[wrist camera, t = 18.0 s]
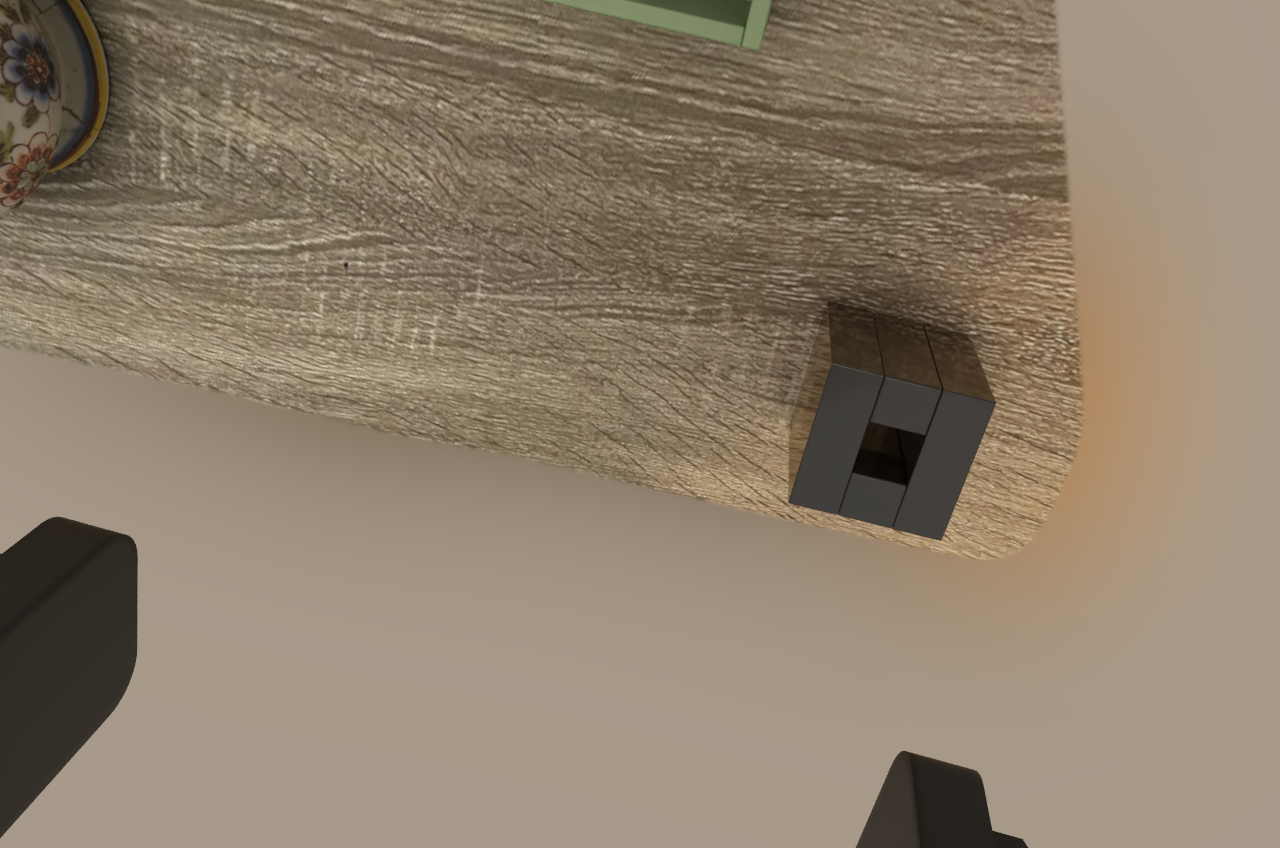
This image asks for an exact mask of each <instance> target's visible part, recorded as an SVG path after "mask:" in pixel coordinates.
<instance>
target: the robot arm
mask: <svg viewBox="0 0 1280 848" xmlns="http://www.w3.org/2000/svg"><path fill="white" fill-rule="evenodd" d="M137 558H138V557H137V548H136V544H135V542H134V540H133V539H132V538H131V537H129V536H128V535H125V534H121V533H117V532H113V531H110V530H106V529H103V528H99V527H95V526H92V525H88V524H85V523H81V522H77V521H74V520H70V519H66V518H63V517H53V518H51V519H48V520H46V521H44V522H43V523H41V524H40V525H39V526H38V527H36V528H35V529H33V530H32V531H31V532H30V533H29V534H27V535H26V536H25V537H23V538H22V539H21V540H19V541H18V542H17V543H15V544H14V545H13V546H12V547H10V548H9V549H8V550H6V551H5V552H4V553H3V554H0V838H1V837H2V836H3V834H4V833H5V832H6V831H7V830H8V829H9V828H10V827H11V826H12V824H13V823H14V822H15V821H16V820H17V819H18V818H19V817H20V815H21V814H22V813H23V812H24V811H25V810H26V809H27V808H28V806H29V805H30V804H31V803H32V802H33V801H34V800H35V799H36V797H37V796H38V795H39V794H40V793H41V792H42V791H43V790H44V789H45V787H46V786H47V785H48V784H49V783H50V782H51V781H52V780H53V778H54V777H55V776H56V775H57V774H58V773H59V772H60V771H61V769H62V768H63V767H64V766H65V765H66V764H67V763H68V762H69V761H70V759H71V758H72V757H73V756H74V755H75V754H76V753H77V751H78V750H79V749H80V748H81V747H82V746H83V745H84V744H85V743H86V741H87V740H88V739H89V738H90V737H91V736H92V735H93V734H94V732H95V731H96V730H97V729H98V728H99V727H100V726H101V725H102V723H103V722H104V721H105V720H106V719H107V718H108V717H109V716H110V714H111V713H112V712H113V711H114V709H115V708H116V707H117V705H118V704H119V702H120V700H121V699H122V697H123V695H124V693H125V691H126V689H127V687H128V685H129V682H130V679H131V677H132V674H133V671H134V667H135V663H136V657H137V566H138V559H137ZM856 848H1028V847H1027V845H1026V844H1025V842H1024V841H1023V839H1020V838H1017V837H1013V836H1009V835H1006V834H1002V833H998V832H995V831H992V827H991V822H990V817H989V812H988V806H987V801H986V796H985V791H984V786H983V782H982V779H981V777H980V774H979V773H978V772H977V771H975V770H972V769H968V768H965V767H961V766H958V765H954V764H950V763H946V762H943V761H939V760H936V759H932V758H929V757H924V756H921V755H917V754H914V753H910V752H906V751H902V752H900V753H899V754H898V755H897V757H896V758H895V760H894V762H893V764H892V766H891V768H890V770H889V773H888V775H887V777H886V779H885V782H884V784H883V786H882V789H881V791H880V793H879V796H878V798H877V800H876V803H875V805H874V807H873V809H872V812H871V814H870V816H869V818H868V821H867V823H866V825H865V828H864V830H863V832H862V835H861V837H860V839H859V842H858V844H857V846H856Z"/></svg>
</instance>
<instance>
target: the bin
mask: <svg viewBox="0 0 1280 848" xmlns="http://www.w3.org/2000/svg"><path fill="white" fill-rule="evenodd" d="M543 1H547V2H551V3H555V4H560V5H564V6H568V7H572V8H577V9H581V10H585V11H590V12H594V13H598V14H602V15H607V16H611V17H615V18H619V19H624V20H628V21H632V22H636V23H641V24H645V25H649V26H654V27H658V28H662V29H666V30H671V31H675V32H679V33H683V34H688V35H692V36H696V37H701V38H705V39H709V40H713V41H718V42H722V43H726V44H730V45H735V46H740V45H741V47H743V48H747V49H752V50H756V51H759V50H760V48H761V45H762V41H763V37H764V34H765V30H766V27H767V23H768V19H769V15H770V11H771V7H772V3H773V0H543Z"/></svg>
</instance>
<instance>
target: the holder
mask: <svg viewBox="0 0 1280 848" xmlns="http://www.w3.org/2000/svg"><path fill="white" fill-rule="evenodd" d="M995 405H996V401H995V399H994V396H993V394H992V391H991V389H990V386H989V384H988V381H987V379H986V376H985V374H984V371H983V369H982V366H981V364H980V361H979V359H978V356H977V354H976V351H975V349H974V346H973V343H972V341H971V338H970V336H969V335H966V334H962V333H958V332H954V331H950V330H945V329H941V328H937V327H933V326H929V325H922V324H919V323H915V322H911V321H907V320H902V319H898V318H894V317H890V316H886V315H882V314H878V313H874V314H873V312H870V311H866V310H862V309H858V308H854V307H850V306H846V305H841V304H837V303H833V302H827V305H826V308H825V311H824V315H823V318H822V321H821V324H820V328H819V331H818V334H817V338H816V341H815V344H814V348H813V351H812V354H811V358H810V361H809V364H808V367H807V371H806V374H805V377H804V381H803V384H802V387H801V391H800V394H799V397H798V401H797V404H796V407H795V410H794V414H793V417H792V420H791V424H790V437H789V489H788V503H790V504H794V505H798V506H803V507H807V508H811V509H815V510H819V511H823V512H827V513H831V514H835V515H837V514H838V515H840V516H844V517H848V518H852V519H856V520H860V521H864V522H868V523H872V524H876V525H880V526H884V527H888V528H891V527H892V529H895V530H899V531H903V532H908V533H912V534H916V535H920V536H924V537H928V538H932V539H936V540H940V541H941V540H942V538H943V536H944V533H945V530H946V528H947V525H948V523H949V520H950V518H951V515H952V513H953V510H954V508H955V505H956V503H957V500H958V498H959V495H960V493H961V490H962V488H963V485H964V483H965V480H966V478H967V475H968V473H969V470H970V468H971V465H972V463H973V460H974V458H975V455H976V452H977V450H978V447H979V445H980V442H981V440H982V437H983V435H984V432H985V430H986V427H987V425H988V422H989V420H990V417H991V415H992V412H993V410H994V407H995Z"/></svg>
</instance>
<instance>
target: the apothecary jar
mask: <svg viewBox="0 0 1280 848" xmlns="http://www.w3.org/2000/svg"><path fill="white" fill-rule="evenodd" d="M108 102H109V74H108V67H107V61H106V57H105V52H104V49H103V46H102V43H101V40H100V37H99V34H98V32H97V30H96V27H95V25H94V23H93V21H92V19H91V17H90V15H89V13H88V12H87V10H86V8H85V7H84V5H83V4H82V2H81V0H0V219H1V218H3V217H4V216H6V215H8V214H9V213H11V212H12V211H14V210H15V209H16V208H18V207H19V206H20V205H21V204H23V203H24V202H25V201H26V200H27V199H28V198H29V197H30V196H31V195H32V194H33V192H34V191H35V190H36V189H37V188H38V186H39V185H40V183H41V182H42V180H43V179H44V177H45V175H46V174H47V173H48V172H52V171H56V170H59V169H61V168H64V167H66V166H67V165H69V164H71V163H72V162H74V161H75V160H77V159H78V158H79V157H80V156H82V155H83V154H84V153H85V152H86V151H87V150H88V149H89V148H90V146H91V145H92V144H93V142H94V141H95V139H96V138H97V136H98V134H99V131H100V130H101V128H102V126H103V123H104V120H105V116H106V113H107V108H108Z"/></svg>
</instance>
